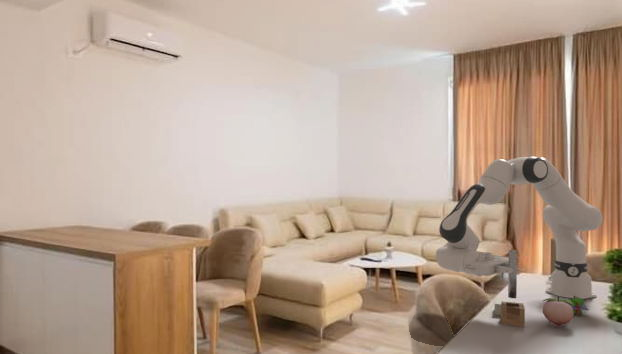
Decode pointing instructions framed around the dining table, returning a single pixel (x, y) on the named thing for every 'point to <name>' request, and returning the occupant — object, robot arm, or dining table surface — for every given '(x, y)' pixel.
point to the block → (499, 306)
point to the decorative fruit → (558, 311)
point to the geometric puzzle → (578, 305)
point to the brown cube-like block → (512, 313)
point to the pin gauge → (512, 274)
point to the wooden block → (553, 255)
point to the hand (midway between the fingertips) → (515, 269)
